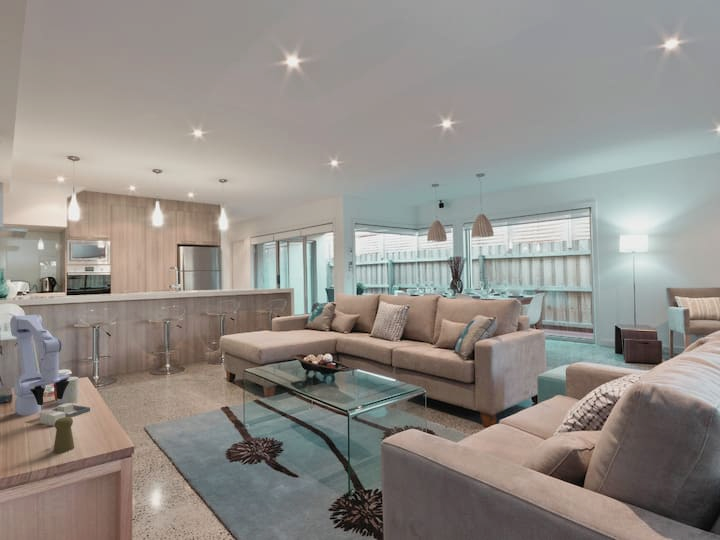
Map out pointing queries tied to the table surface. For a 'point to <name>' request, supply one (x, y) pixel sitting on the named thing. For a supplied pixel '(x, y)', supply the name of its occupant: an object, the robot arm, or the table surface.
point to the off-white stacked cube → (45, 416)
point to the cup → (71, 392)
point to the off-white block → (55, 417)
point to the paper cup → (61, 373)
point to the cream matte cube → (65, 408)
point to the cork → (63, 435)
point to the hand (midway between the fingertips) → (50, 401)
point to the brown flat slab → (38, 422)
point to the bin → (81, 408)
